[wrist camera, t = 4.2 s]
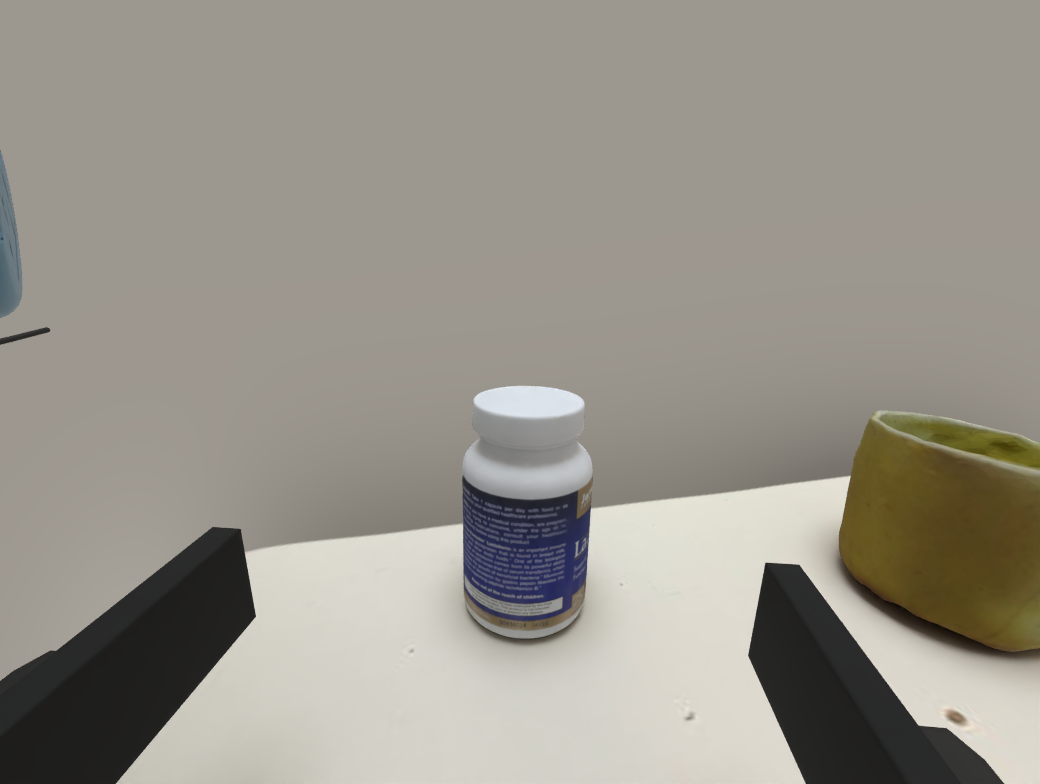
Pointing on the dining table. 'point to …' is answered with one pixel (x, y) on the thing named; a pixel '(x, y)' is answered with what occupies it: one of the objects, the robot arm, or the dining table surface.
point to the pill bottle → (526, 511)
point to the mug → (948, 525)
